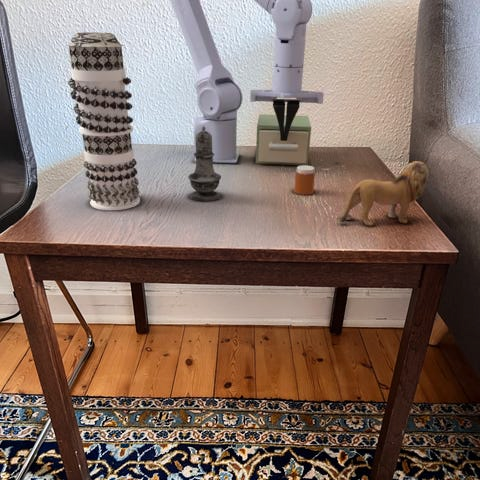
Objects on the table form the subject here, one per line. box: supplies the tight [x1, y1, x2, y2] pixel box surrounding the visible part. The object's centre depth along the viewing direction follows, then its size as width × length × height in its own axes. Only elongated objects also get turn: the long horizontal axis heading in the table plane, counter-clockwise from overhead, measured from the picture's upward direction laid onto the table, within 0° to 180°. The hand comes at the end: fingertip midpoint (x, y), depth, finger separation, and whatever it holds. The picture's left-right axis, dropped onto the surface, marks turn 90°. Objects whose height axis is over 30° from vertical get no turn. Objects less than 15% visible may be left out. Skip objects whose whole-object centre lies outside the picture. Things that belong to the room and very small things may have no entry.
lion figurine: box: [339, 160, 430, 227], centre depth 73 cm, size 15×5×9 cm, turn 110°
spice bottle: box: [293, 165, 316, 196], centre depth 87 cm, size 4×4×4 cm
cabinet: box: [255, 113, 312, 166], centre depth 108 cm, size 14×12×8 cm
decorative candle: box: [66, 31, 141, 211], centre depth 74 cm, size 9×9×25 cm
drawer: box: [258, 129, 309, 163], centre depth 104 cm, size 17×10×6 cm, turn 176°
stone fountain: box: [187, 126, 222, 202], centre depth 81 cm, size 6×6×12 cm
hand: (283, 139), depth 98 cm, fingers closed
